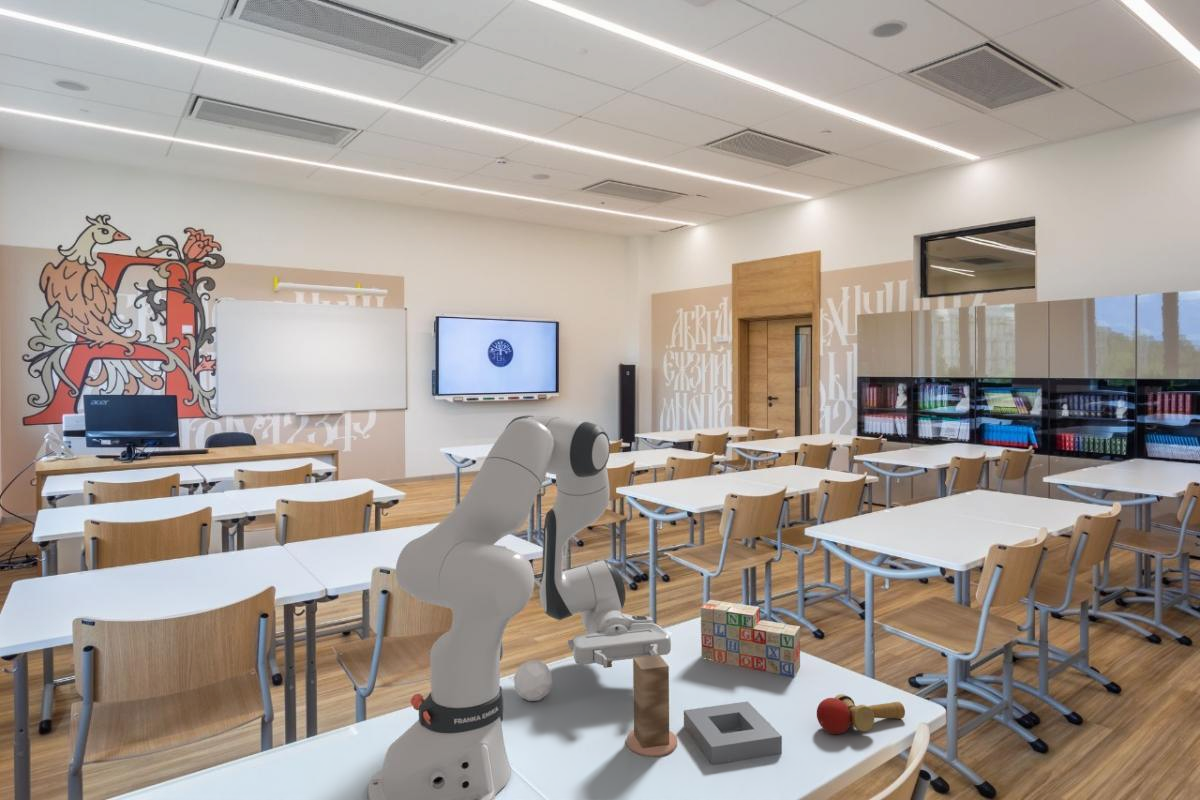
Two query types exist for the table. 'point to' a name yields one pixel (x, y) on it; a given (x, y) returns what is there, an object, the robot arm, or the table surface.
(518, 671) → the geometric ball
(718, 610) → the stack of blocks
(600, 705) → the table surface
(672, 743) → the terracotta coaster
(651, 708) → the walnut block
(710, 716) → the pocket holder
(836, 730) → the kendama
